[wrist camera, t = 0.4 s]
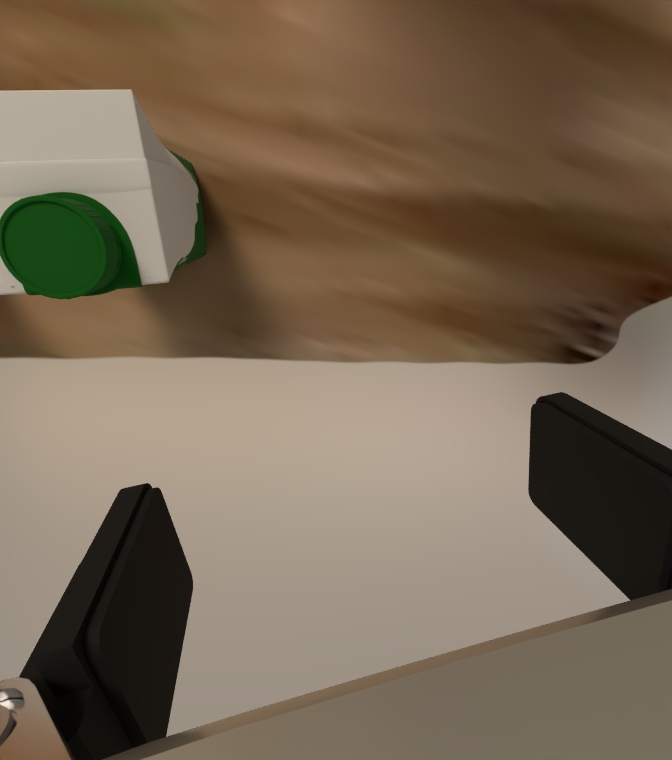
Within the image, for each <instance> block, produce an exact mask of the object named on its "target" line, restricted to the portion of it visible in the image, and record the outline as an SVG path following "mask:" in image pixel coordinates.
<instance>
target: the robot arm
mask: <svg viewBox="0 0 672 760" xmlns="http://www.w3.org/2000/svg"><path fill="white" fill-rule="evenodd" d="M528 489H529V496H530V498H531V500H532V502H533V503H534V505H536V507H537V508H538V509H540V511H541V512H542V513H543V514H544V515H545V516H547V518H548V519H550V521H551V522H552V523H553V524H555V525H556V527H557V528H558V529H559V530H560V531H562V533H563V534H564V535H566V537H567V538H568V539H570V540H571V542H573V544H574V545H576V547H578V548H579V549H580V550H581V551H582V552H583V553H584V554H585V555H586V556H587V557H588V558H589V559H590V560H591V561H592V562H593V563H594V564H595V565H596V566H597V567H598V568H599V569H600V570H601V571H602V572H603V573H604V574H605V575H606V576H607V577H608V578H609V579H610V580H611V581H612V582H613V583H614V584H615V585H616V586H617V587H618V588H619V589H620V590H621V591H622V592H623V593H624V594H625V595H626V596H627V597H628V598H629V599H630V600H631V601H627V602H624V603H620V604H617V605H613V606H609V607H606V608H602V609H599V610H596V611H592V612H588V613H585V614H581V615H578V616H574V617H570V618H567V619H564V620H560V621H556V622H553V623H550V624H546V625H542V626H539V627H535V628H532V629H528V630H525V631H521V632H518V633H514V634H511V635H507V636H504V637H500V638H497V639H494V640H490V641H486V642H483V643H480V644H476V645H473V646H469V647H466V648H462V649H459V650H455V651H452V652H448V653H445V654H441V655H439V656H435V657H431V658H428V659H424V660H421V661H417V662H414V663H410V664H407V665H404V666H400V667H397V668H393V669H390V670H386V671H383V672H380V673H376V674H373V675H369V676H366V677H363V678H359V679H356V680H352V681H349V682H346V683H342V684H339V685H335V686H332V687H329V688H325V689H322V690H319V691H315V692H312V693H308V694H305V695H302V696H298V697H295V698H291V699H288V700H285V701H281V702H278V703H275V704H271V705H268V706H264V707H261V708H258V709H254V710H251V711H248V712H244V713H241V714H238V715H235V716H231V717H228V718H225V719H222V720H219V721H216V722H212V723H210V724H206V725H203V726H200V727H196V728H193V729H190V730H187V731H184V732H181V733H178V734H174V735H171V736H168V737H166V734H167V728H168V723H169V717H170V711H171V706H172V701H173V695H174V690H175V684H176V679H177V673H178V668H179V663H180V657H181V652H182V646H183V640H184V635H185V630H186V624H187V619H188V613H189V608H190V602H191V597H192V591H193V580H192V574H191V571H190V569H189V566H188V563H187V561H186V558H185V555H184V552H183V549H182V547H181V544H180V542H179V538H178V536H177V533H176V530H175V528H174V525H173V522H172V519H171V516H170V514H169V511H168V508H167V506H166V503H165V500H164V498H163V495H162V492H161V490H160V489H159V488H152V487H151V485H150V484H148V483H146V484H141V485H137V486H132V487H128V488H124V489H121V490H120V491H119V493H118V495H117V497H116V499H115V500H114V502H113V504H112V506H111V508H110V510H109V512H108V514H107V515H106V517H105V519H104V521H103V523H102V525H101V527H100V528H99V530H98V533H97V534H96V536H95V538H94V540H93V542H92V543H91V546H90V547H89V549H88V551H87V553H86V555H85V557H84V558H83V560H82V562H81V563H80V565H79V566H78V568H77V570H76V572H75V574H74V575H73V577H72V579H71V581H70V583H69V585H68V587H67V589H66V590H65V592H64V594H63V596H62V598H61V600H60V602H59V603H58V605H57V607H56V609H55V611H54V613H53V615H52V616H51V618H50V620H49V622H48V624H47V626H46V628H45V630H44V631H43V633H42V635H41V637H40V639H39V641H38V643H37V644H36V646H35V648H34V650H33V652H32V654H31V656H30V657H29V659H28V661H27V663H26V665H25V667H24V669H23V671H22V672H21V675H20V676H19V677H16V678H11V679H6V680H1V681H0V760H672V450H671V449H669V448H667V447H666V446H664V445H662V444H660V443H658V442H656V441H654V440H652V439H651V438H649V437H647V436H645V435H643V434H641V433H639V432H637V431H635V430H634V429H632V428H630V427H628V426H626V425H624V424H622V423H620V422H618V421H617V420H615V419H613V418H611V417H609V416H607V415H605V414H603V413H601V412H600V411H598V410H596V409H594V408H592V407H590V406H588V405H587V404H585V403H583V402H581V401H579V400H577V399H575V398H573V397H571V396H570V395H568V394H566V393H562V392H561V393H555V394H551V395H547V396H542V397H539V398H538V399H537V401H536V404H534V405H533V406H532V408H531V427H530V458H529V488H528Z"/></svg>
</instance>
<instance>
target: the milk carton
mask: <svg viewBox="0 0 672 760" xmlns="http://www.w3.org/2000/svg"><path fill="white" fill-rule="evenodd" d="M205 254H206V241H205V227H204V219H203V211H202V204H201V197H200V191H199V187H198V183H197V180H196V177H195V174H194V171H193V167H192V164H191V163H190V162H188V161H186V160H185V159H183V158H182V157H180V156H178V155H177V154H175V153H173V152H172V151H170V150H169V149H167V148H165V147H164V146H163V145H162V143H161V142H160V140H159V138H158V136H157V135H156V133H155V131H154V130H153V128H152V126H151V124H150V123H149V121H148V119H147V117H146V116H145V114H144V112H143V110H142V109H141V107H140V105H139V103H138V101H137V100H136V98H135V96H134V94H133V92H132V90H33V91H0V295H9V294H24V293H27V294H29V295H43V296H47V297H51V298H57V299H71V298H76V297H79V296H92V295H99V294H104V293H108V292H111V291H114V290H116V289H122V288H135V287H142V285H146V284H157V283H168V282H169V280H170V278H171V275H172V273H173V271H174V270H176V269H178V268H180V267H182V266H184V265H186V264H188V263H190V262H191V261H193V260H195V259H197V258H199V257H201V256H203V255H205Z"/></svg>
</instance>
